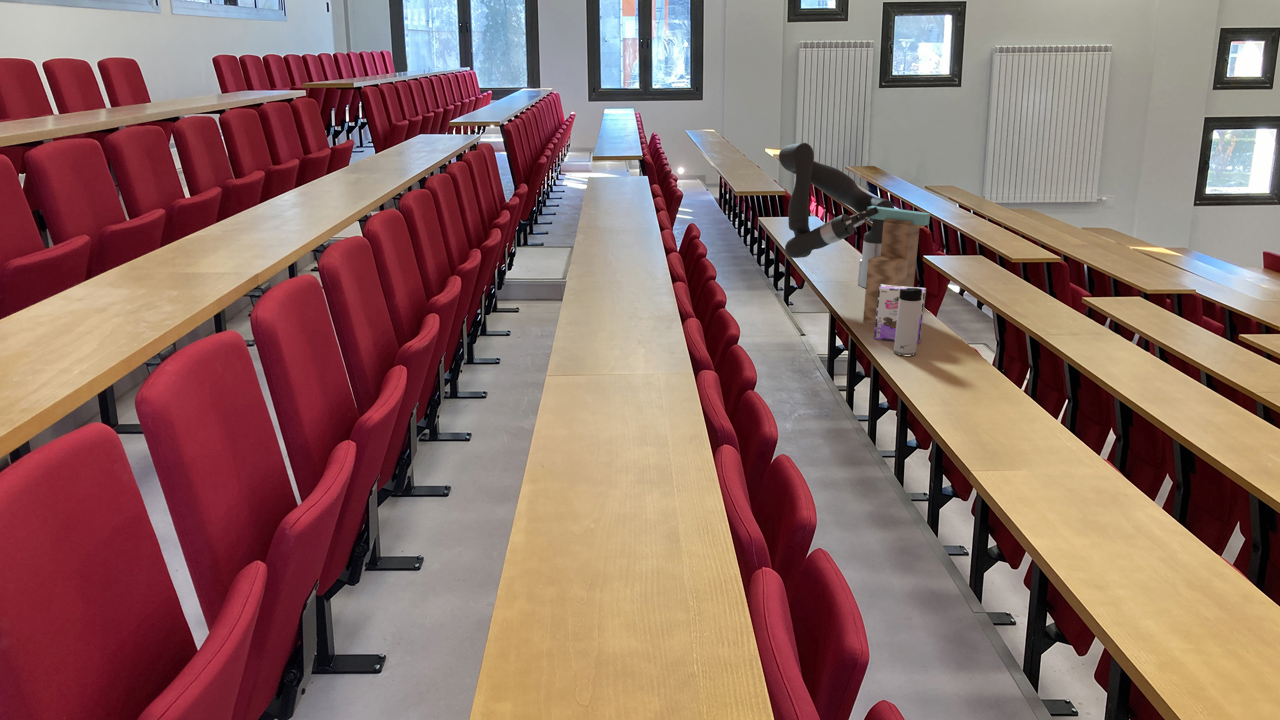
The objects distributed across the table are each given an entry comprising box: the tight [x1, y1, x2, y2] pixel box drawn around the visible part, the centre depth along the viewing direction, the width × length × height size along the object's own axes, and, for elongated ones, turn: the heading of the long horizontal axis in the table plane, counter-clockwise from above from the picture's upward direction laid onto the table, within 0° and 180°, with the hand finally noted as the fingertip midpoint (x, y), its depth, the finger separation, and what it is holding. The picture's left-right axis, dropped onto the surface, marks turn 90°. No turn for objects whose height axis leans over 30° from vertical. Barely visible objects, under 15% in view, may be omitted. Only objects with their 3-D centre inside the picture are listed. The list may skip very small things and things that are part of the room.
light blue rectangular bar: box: [867, 206, 931, 227], centre depth 296 cm, size 20×4×4 cm, turn 51°
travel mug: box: [893, 287, 922, 355], centre depth 265 cm, size 6×7×20 cm
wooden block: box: [862, 255, 908, 325], centre depth 296 cm, size 10×8×21 cm
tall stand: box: [881, 218, 921, 287], centre depth 300 cm, size 9×8×33 cm
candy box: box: [873, 284, 927, 344], centre depth 279 cm, size 14×6×16 cm, turn 70°
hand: (879, 208), depth 299 cm, fingers closed on light blue rectangular bar, 3 cm apart
